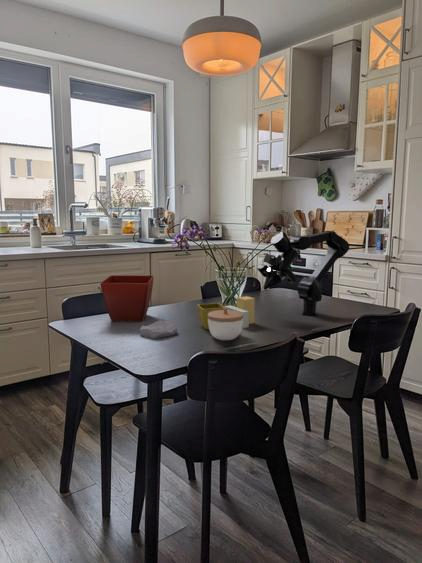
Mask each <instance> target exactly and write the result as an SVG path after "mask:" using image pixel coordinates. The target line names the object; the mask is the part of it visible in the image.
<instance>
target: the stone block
mask: <svg viewBox="0 0 422 563" xmlns="http://www.w3.org/2000/svg"><path fill="white" fill-rule="evenodd" d="M139 333H140V336H141V335H142V336H141V337H144V336H147V337H146V338H149V337H150V338H149V339H152V338H153V339H154V338H156V339H160V337H161V338H164V337H165V338H167V337H171V336H175V334H177V333H178V326H177V325H176V324H174V323H172V322H171V321H168V320H161V319H160V320H156V321H155V322H152V323H151V324H149V325H142V326H141V327H140V330H139ZM170 335H171V336H170ZM166 336H167V337H166ZM153 339H152V340H153ZM154 340H155V339H154Z"/></svg>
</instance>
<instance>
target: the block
mask: <svg viewBox="0 0 422 563" xmlns="http://www.w3.org/2000/svg"><path fill="white" fill-rule="evenodd" d="M236 307H237V308H240V309H243V310H246V311H249V325H251V324H255V297H251V296H239V297H236Z"/></svg>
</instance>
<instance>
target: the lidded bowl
mask: <svg viewBox="0 0 422 563" xmlns="http://www.w3.org/2000/svg"><path fill="white" fill-rule="evenodd" d="M242 325H243V313H241V312H238V311H233V310H227V308H224V310H217V311H212V312H209V313H208V326H209V329H208V330H209V333H210V334H211V336H212V337H214V338H215V339H216V340H219V341H231V340H235V339H237V338H238V337H239V335H240V334H241V332H242V330H243V328H242Z"/></svg>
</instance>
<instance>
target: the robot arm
mask: <svg viewBox="0 0 422 563" xmlns="http://www.w3.org/2000/svg"><path fill="white" fill-rule="evenodd" d="M324 242H325V245H326V246H327V251H326V252H327V253H326V254H325V256H324V257H323V258H322V259H321V261H320V263H319V264H318V265H317V266H316V267H315V270H314V271H313V272H312V273H311V275H310V276H309V277H305V276H303V277H302V279H301V280H300V281H299V283H298V286H297V287H296V289H297V291H296V292H297V294H298V297H299V299H300V300H303V301H302V303H303V304H302V310H301V315H305V316H318V311H317V304H318V303H319V302H321V301H322V298H323V296H322V294H321V293H320V292H319V290H320V284H321V282H322V281H323V279H324V278H325V277H326V275H327V274H328V272H329V271H330V270H331V268H332V267H333V265H334V264H335V262H336V261H337V260H339V259H341V258H343V257H344V256H345V255H346V254H347V253H348V252H349V250H350V244H349V242H348V241H347V240H345V238H344V237H342V236H340V235H339V234H338V233H336V231H334V230H324V231H321V232H317V233H313V234H308V235H291V236H290V237H288V236H287V234H286V232H284V231H280V232H279V233H277V234H275V235H274V236H272V237H271V239H270V243H271V244H272V246H273V248H275V250H276V251H277V252H278V253H281V254H275V255H273V254H268V253H265V256H264V258H263V260H262V261H263V262H264V263H267V264H268V265H267V264H262V263H261V264H260V263H259V264H258V265H257V267H256V269H257V271H258V272H259V273H260V275H261V276H262V277H264V278H265V280H264V284H263V287H262V288H263V290H265V291H267V290H268V289H270V288H272V287H274V286H276V285H278V284H281V283H283V282H284V279H286V278H287V281H288V283H289V284H294V283H295V281H296V280H297V276H296V275H295V273H294V272H293V271H292V268H293V267H292V264H293V262H294V261H295V260H301V259H302V256H301V252H298V251H306V250H307V249H309V248H310V247H312V246H313V245H317V244H320V243H324Z"/></svg>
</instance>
